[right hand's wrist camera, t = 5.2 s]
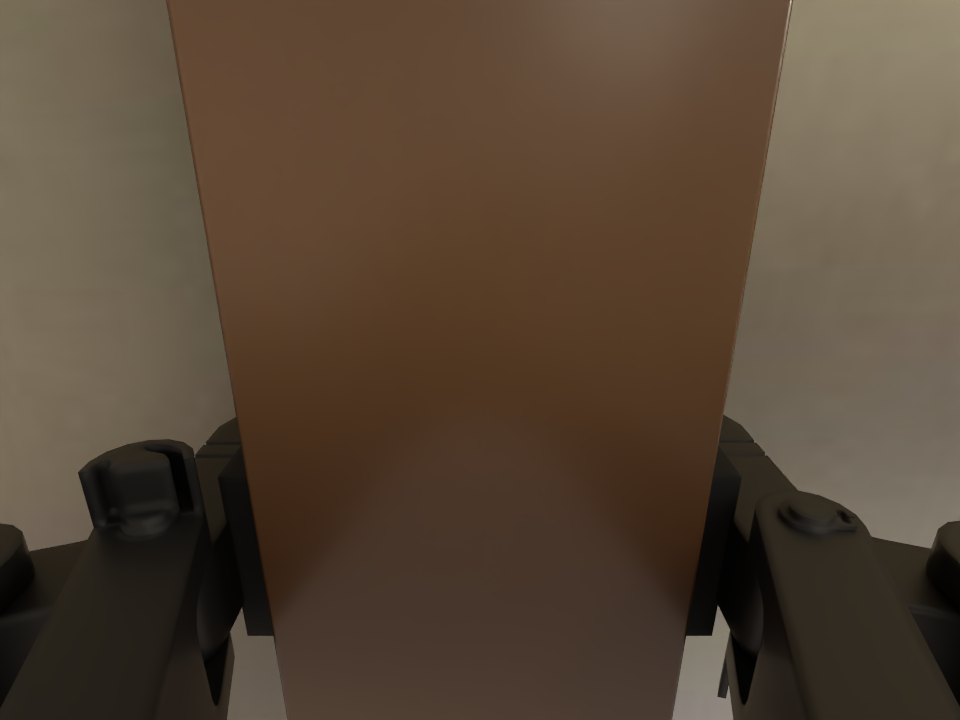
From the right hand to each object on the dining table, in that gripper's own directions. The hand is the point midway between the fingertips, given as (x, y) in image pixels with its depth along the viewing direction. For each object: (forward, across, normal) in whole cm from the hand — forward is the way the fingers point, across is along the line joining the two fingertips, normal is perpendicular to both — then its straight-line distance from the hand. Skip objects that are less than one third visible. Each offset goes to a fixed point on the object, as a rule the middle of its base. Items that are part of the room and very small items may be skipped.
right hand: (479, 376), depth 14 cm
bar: (0, 0, -20) cm, 20 cm away
